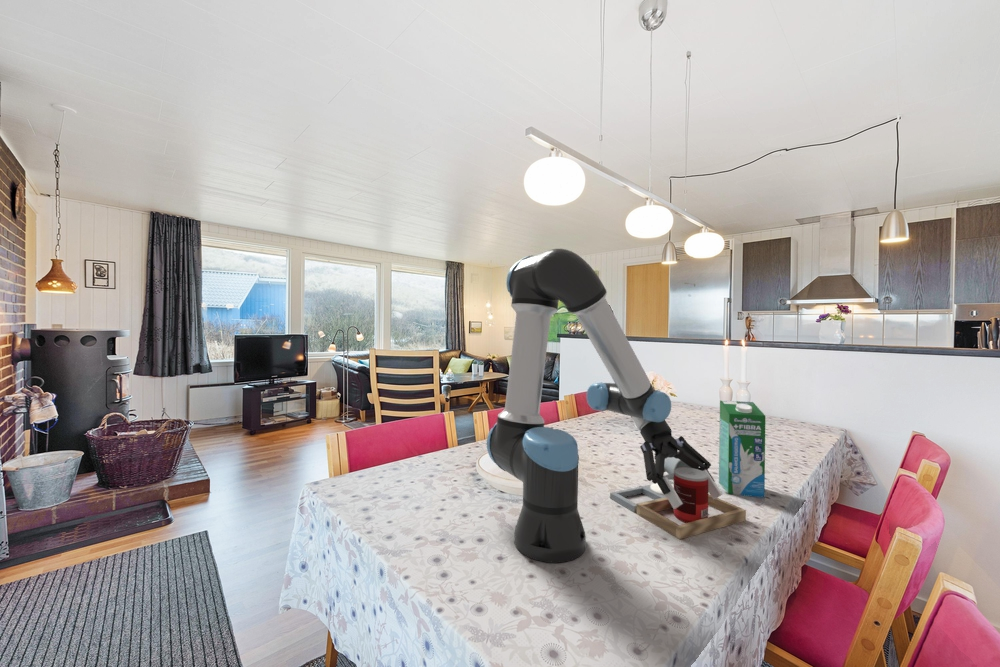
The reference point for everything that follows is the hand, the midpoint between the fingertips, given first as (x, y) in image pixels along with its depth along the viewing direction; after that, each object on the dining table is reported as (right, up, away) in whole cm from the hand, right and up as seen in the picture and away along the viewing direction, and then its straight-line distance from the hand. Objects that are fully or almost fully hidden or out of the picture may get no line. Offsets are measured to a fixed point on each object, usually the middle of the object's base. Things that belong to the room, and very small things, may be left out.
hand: (698, 501), depth 95 cm
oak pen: (-1, -5, +2) cm, 5 cm away
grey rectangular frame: (-6, -5, +13) cm, 15 cm away
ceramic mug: (+7, -5, +27) cm, 28 cm away
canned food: (-1, -5, +2) cm, 5 cm away
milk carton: (+22, -5, +19) cm, 30 cm away
